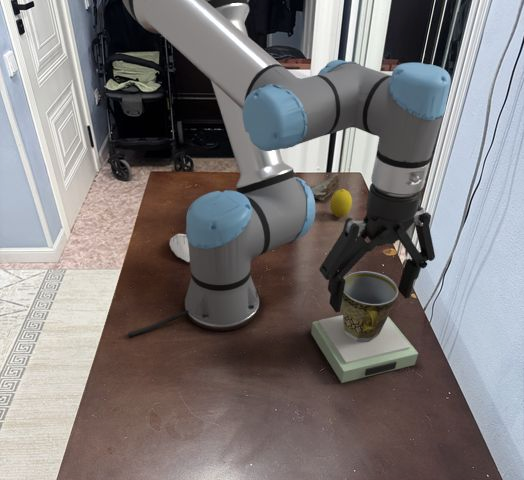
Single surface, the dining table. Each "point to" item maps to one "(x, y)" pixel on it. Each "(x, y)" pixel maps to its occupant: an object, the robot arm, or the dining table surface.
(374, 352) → the kitchen scale
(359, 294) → the ceramic cup
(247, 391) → the dining table surface
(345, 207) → the lemon
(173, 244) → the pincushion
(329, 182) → the rock sample
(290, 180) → the robot arm
